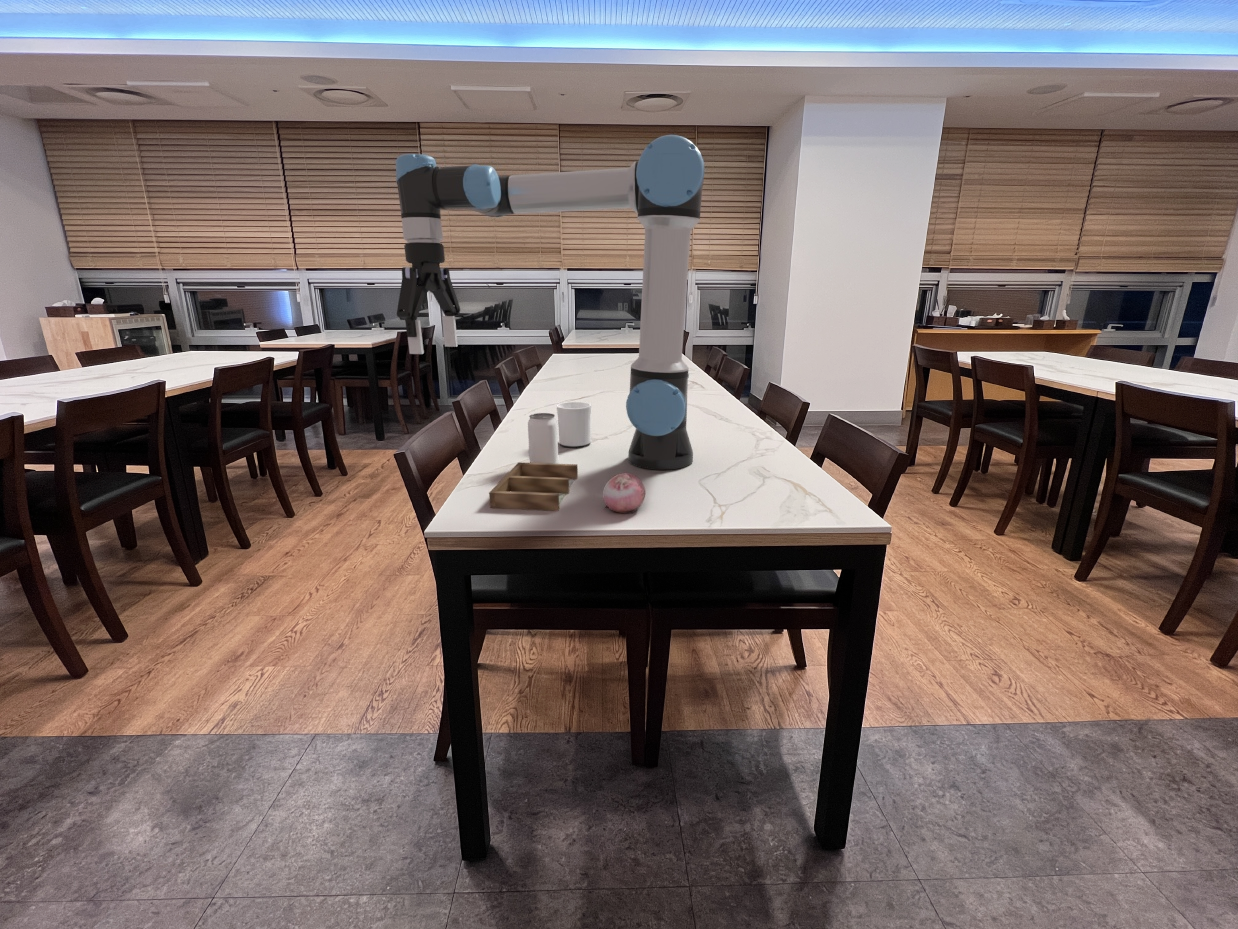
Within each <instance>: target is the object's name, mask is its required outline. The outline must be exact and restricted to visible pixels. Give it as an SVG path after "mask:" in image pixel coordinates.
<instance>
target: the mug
mask: <svg viewBox="0 0 1238 929" xmlns="http://www.w3.org/2000/svg"><path fill="white" fill-rule="evenodd" d="M556 411H557V412H556V413H557V428H558V443H559V446H561V447H562V448H565V449H583V448H586V447H588V446H590V445H591V434H592V433H591V432H592V431H591V429H592V428H591V424H592V423H591V419H592V418H591V417H592V416H591V415H592V404H591V403H589V402H586V401H567V402H560V403H557V404H556Z"/></svg>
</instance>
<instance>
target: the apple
mask: <svg viewBox="0 0 1238 929" xmlns="http://www.w3.org/2000/svg"><path fill="white" fill-rule="evenodd" d="M645 497H646V488H645V486H644V484H643V482H642V481H641V479H639V477H638V476H636V475H634V474H632V473H628V472H624V473H619V474H617V475H614V476H613V477H612V478H611V479H609V480H608V481H607V483H606V484H605V486H604V487H603V492H602V498H603V502H604V503H605V506H604V509H609V510H611V511H612V512H614V513H615V512H616V513H618V514H619V513H620V514H626V513H627V514H633V513H634V512H636V511H637V510H638V509H639V508H640V507H641V505H642V504H643V502H644V501H645Z"/></svg>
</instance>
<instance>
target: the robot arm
mask: <svg viewBox="0 0 1238 929" xmlns="http://www.w3.org/2000/svg"><path fill="white" fill-rule="evenodd" d="M395 171H396V172H395V175H396V180H395V183H396V185H397V192H398V198H399V199H398V201H399V208H400V218H401V224H402V226H401V229H402V236H403V240H404V241H406V243H405V244H404V245H403V246H404V255H405V261H406V262H407V263H408V264H411V266H403V267H402V268H401V283H400V284H401V285H400V291H399V296H398V297H399V298H398V303H397V310H396V316H397V318H399V321H405V327H406V328H405V330H406V336H407V341H408V342H407V343H408V344H407V345H408V352H409V355H423V354H424V353H425V350H424V344H423V343H424V342H423V335H422V326H421V320H420V319H419V320H418V317H419V314H420V311H421V308H422V305H423V302H424V298H425V296H426V294H428V293H429V292H430V293H432V295H433V296H434V298H435V300H436V303H437V304H438V306H439V308H440V310H441V311H442V313H443V315H442V316H441V319H442V329H443V330H442V331H443V338H444V339H443V341H444V347H445V348H446V347H449V348H453V347H454V348H455V347H456V348H457V347H458V336H457V333H458V332H457V325H456V317H457V316H460V313H461V306H460V304H459V300H458V297H457V294H456V292H455V288H454V285H453V283H452V280H451V275H450V270H449V268H447V267H444V268H443V267H440V264H444V263H445V261H446V258H445V247H444V245H443V243H441V242H442V241H443V240H444V236H443V235H444V234H443V227H442V216H441V210H469V211H472V212H476V213H479V214H482V215H485V216H487V217H490V218H501V217H505V216H506V215H520V214H522V215H523V214H539V213H540V214H541V213H542V214H543V213H557V212H558V213H559V212H560V213H561V212H578V211H579V212H581V211H598V210H600V211H601V210H602V211H603V210H620V209H622V210H623V209H631V210H632V211H634V212H635V214H637V220H638V222H639V223H640V224H641V226H642V227H643V228H644V243H643V244H644V245H643V246H644V248H643V264H642V265H643V268H642V282H641V284H642V285H641V287H642V288H641V303H640V304H641V306H640V307H641V308H640V324H639V325H640V327H639V328H640V329H639V343H638V344H639V347H638V357H637V358H636V360H634V361H633V362H632V363H631V365H630V375H629V376H630V377H629V378H630V380H629V394H628V396H627V399H626V402H625V410H626V414H627V418H628V419H629V421H630V423H631V425H632V426H633V427H634V428H635V430H634V433H633V436H632V439H631V442H630V445H629V449H628V458H627V459H628V462H629V463H630V464H631V465H633V466H635V467H638V468H643V469H647V470H659V471H660V470H661V471H663V470H665V471H666V470H676V469H682V468H685V467H688V466H690V465H692V463H693V461H694V450H693V448H692V447H693V446H692V444H691V440H690V437H689V434H688V431H687V421H688V419H687V415H688V386H689V384H688V383H689V377H690V374H689V366H688V365H687V364H686V363H685V362H684V361H683V346H684V345H683V344H684V332H685V318H686V317H685V316H686V304H687V303H686V302H687V291H688V274H689V261H690V248H691V234H692V231H693V229H694V228H695V227H696V226H697V224H699V223H700V220H701V211H702V210H701V209H702V198H703V197H702V196H703V187H704V177H705V171H706V170H705V162H704V158H703V156H702V153H701V151H700V150H699V148H698V147H697V146H696V145H695V144H694V143H693V142H692V141H691V140H689V139H688V138H686V137H684V136H680V135H677V134H667V135H661V136H660V137H657V138H655V139H654V140H652V141H651V142H650V143H649V144H648V145H646V147H645V148H644V149H643V150H642V152H641V154H640V156H639V159H638V161H634V162H633V163H632V164H631V166H629V167H621V168H620V167H617V168H607V169H606V168H605V169H591V170H590V169H589V170H573V171H558V172H541V173H528V174H527V173H525V174H513V175H512V174H511V175H499V174H498V173H497V171H496V169H495V168H494V167H493V166H490V165H479V164H474V163H473V164H472V165H471V164H470V165H458V166H438V165H437V163H436V159H435V158H434V157H432V156H430V155H429V154H428V155H427V154H420V153H417V154H416V153H405V154H401V155H399V156H397V158H396V160H395Z"/></svg>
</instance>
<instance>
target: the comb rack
mask: <svg viewBox="0 0 1238 929" xmlns="http://www.w3.org/2000/svg"><path fill="white" fill-rule="evenodd" d="M578 471H579V470H578V464H574V463H572V464H571V463H570V464H569V463H558V464H550V463H530V462H517V463H516V464H515V465H514V466H513V467H512V468H511V469H510V470H509V471H508V473H506V475H504V477H503V478H501V480H500V481H499V482H498V483H497V484H496V485H495V486H494V487H493V488H492V489H491V490H490V491H488V494H489V507H490V509H491V508H492V509H511V510H512V509H513V510H534V511H535V510H536V511H559V510H560V504H561V502H562V501H563V499H564V497H565V496H566V494H567V495H569V493H570V487H571V486H572V485H573V483H574V480H577V479H578V477H579V474H578V473H579V472H578Z"/></svg>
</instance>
